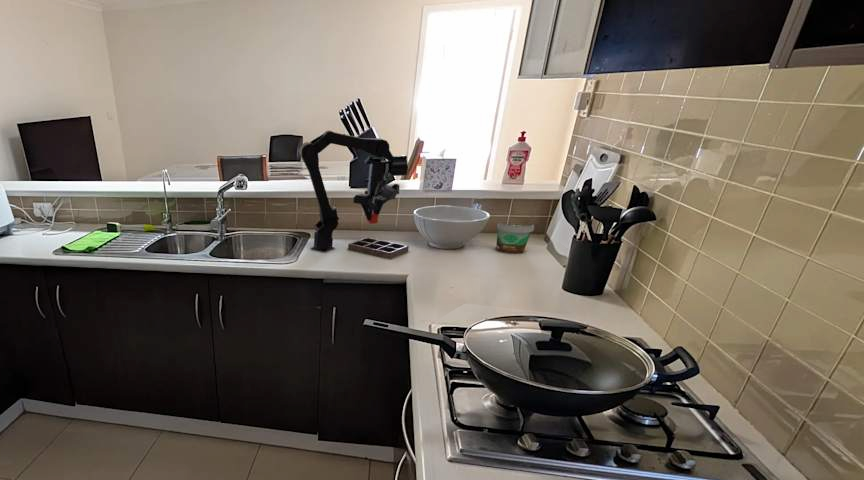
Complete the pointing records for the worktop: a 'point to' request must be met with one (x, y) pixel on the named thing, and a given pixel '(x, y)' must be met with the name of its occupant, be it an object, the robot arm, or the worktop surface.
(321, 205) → the robot arm
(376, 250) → the grid
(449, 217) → the decorative bowl
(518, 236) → the food container
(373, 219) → the red short cylinder
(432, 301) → the worktop surface
